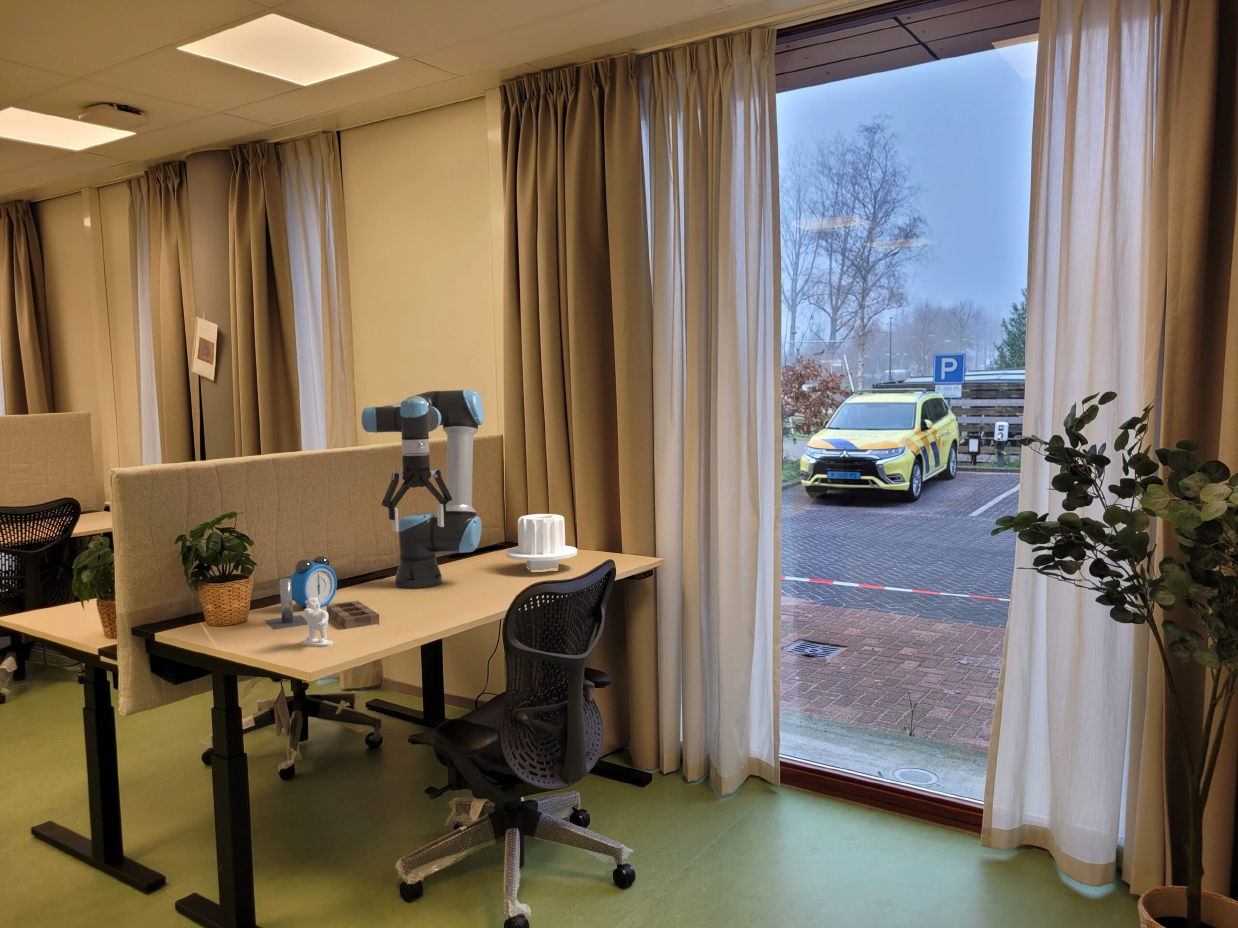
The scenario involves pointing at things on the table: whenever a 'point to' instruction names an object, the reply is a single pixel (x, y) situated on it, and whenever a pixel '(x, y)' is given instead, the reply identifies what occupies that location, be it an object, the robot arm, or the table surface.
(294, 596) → the alarm clock
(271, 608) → the table surface
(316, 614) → the figurine
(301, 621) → the mat
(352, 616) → the hole block
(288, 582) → the pin
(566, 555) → the flanged gear
